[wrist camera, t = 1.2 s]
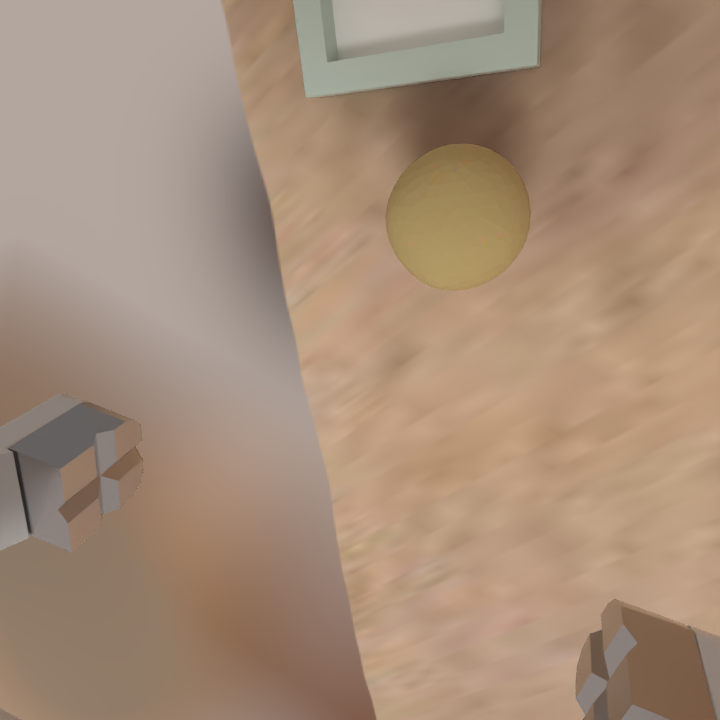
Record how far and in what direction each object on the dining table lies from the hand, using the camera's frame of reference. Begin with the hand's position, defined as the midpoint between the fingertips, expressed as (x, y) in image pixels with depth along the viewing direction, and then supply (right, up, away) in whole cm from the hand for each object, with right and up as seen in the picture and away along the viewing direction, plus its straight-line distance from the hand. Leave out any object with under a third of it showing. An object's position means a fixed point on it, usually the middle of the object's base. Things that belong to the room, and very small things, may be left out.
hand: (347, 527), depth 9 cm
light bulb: (+7, +12, +21) cm, 26 cm away
